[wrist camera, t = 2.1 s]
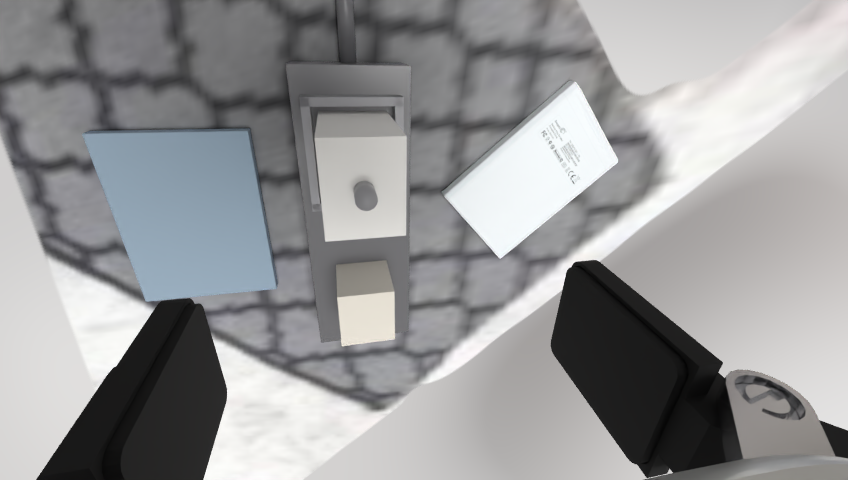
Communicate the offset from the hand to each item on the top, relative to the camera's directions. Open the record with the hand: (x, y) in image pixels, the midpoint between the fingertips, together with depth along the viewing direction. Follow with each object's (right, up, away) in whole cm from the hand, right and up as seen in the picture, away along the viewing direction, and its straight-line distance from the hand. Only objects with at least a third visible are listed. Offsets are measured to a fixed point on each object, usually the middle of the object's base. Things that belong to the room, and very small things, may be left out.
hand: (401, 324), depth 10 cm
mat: (-15, +4, +17) cm, 23 cm away
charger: (-4, +8, +14) cm, 16 cm away
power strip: (-4, +8, +17) cm, 19 cm away
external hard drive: (+9, +8, +22) cm, 25 cm away
